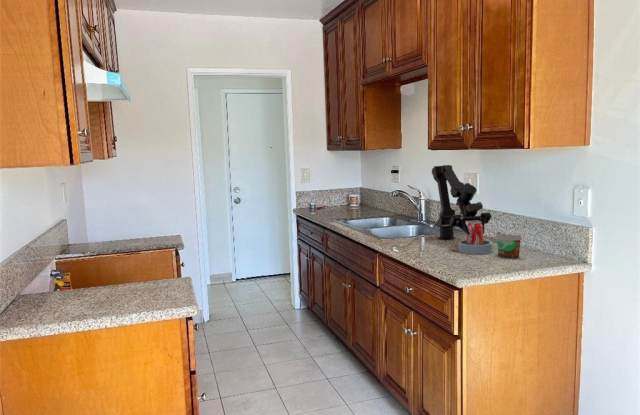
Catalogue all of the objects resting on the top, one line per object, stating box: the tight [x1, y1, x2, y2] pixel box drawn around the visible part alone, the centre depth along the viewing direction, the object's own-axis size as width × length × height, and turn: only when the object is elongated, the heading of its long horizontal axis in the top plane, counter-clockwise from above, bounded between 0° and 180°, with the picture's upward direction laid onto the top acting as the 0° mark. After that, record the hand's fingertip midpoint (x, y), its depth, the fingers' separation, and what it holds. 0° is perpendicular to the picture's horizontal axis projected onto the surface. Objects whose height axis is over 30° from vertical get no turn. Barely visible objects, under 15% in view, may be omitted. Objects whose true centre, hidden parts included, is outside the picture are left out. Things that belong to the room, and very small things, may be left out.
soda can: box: [466, 221, 484, 245], centre depth 227 cm, size 7×7×12 cm
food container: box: [494, 231, 523, 259], centre depth 214 cm, size 12×6×10 cm, turn 27°
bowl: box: [457, 239, 493, 256], centre depth 227 cm, size 15×15×4 cm
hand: (476, 233), depth 225 cm, fingers closed on soda can, 7 cm apart
